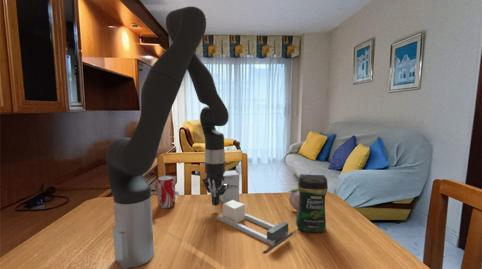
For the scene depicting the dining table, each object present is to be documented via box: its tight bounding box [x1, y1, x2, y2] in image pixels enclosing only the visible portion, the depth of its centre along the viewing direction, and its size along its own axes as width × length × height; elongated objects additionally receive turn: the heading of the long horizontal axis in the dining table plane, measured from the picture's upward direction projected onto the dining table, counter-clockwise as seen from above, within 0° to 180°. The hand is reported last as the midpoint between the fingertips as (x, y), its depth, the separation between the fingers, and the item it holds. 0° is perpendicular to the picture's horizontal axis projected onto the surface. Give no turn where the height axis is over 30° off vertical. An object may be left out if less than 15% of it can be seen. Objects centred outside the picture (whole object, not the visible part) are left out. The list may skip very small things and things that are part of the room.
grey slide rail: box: [217, 213, 294, 254], centre depth 85 cm, size 24×14×5 cm, turn 46°
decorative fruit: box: [288, 188, 300, 211], centre depth 98 cm, size 9×8×10 cm
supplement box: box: [219, 170, 240, 203], centre depth 109 cm, size 7×7×13 cm
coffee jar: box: [295, 173, 329, 233], centre depth 85 cm, size 10×8×19 cm
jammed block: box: [222, 200, 246, 223], centre depth 90 cm, size 6×5×6 cm
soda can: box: [156, 175, 176, 209], centre depth 104 cm, size 7×7×12 cm
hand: (215, 204), depth 97 cm, fingers closed
